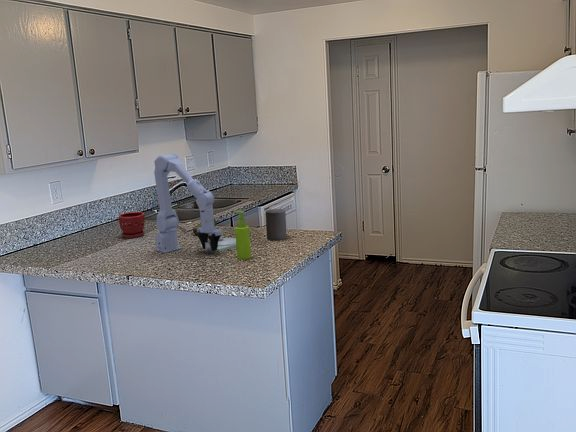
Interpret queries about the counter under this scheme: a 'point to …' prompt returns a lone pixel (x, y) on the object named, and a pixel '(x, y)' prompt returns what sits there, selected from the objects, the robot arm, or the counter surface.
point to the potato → (200, 226)
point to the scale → (225, 244)
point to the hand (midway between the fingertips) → (210, 249)
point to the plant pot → (132, 224)
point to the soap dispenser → (242, 238)
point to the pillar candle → (276, 224)
